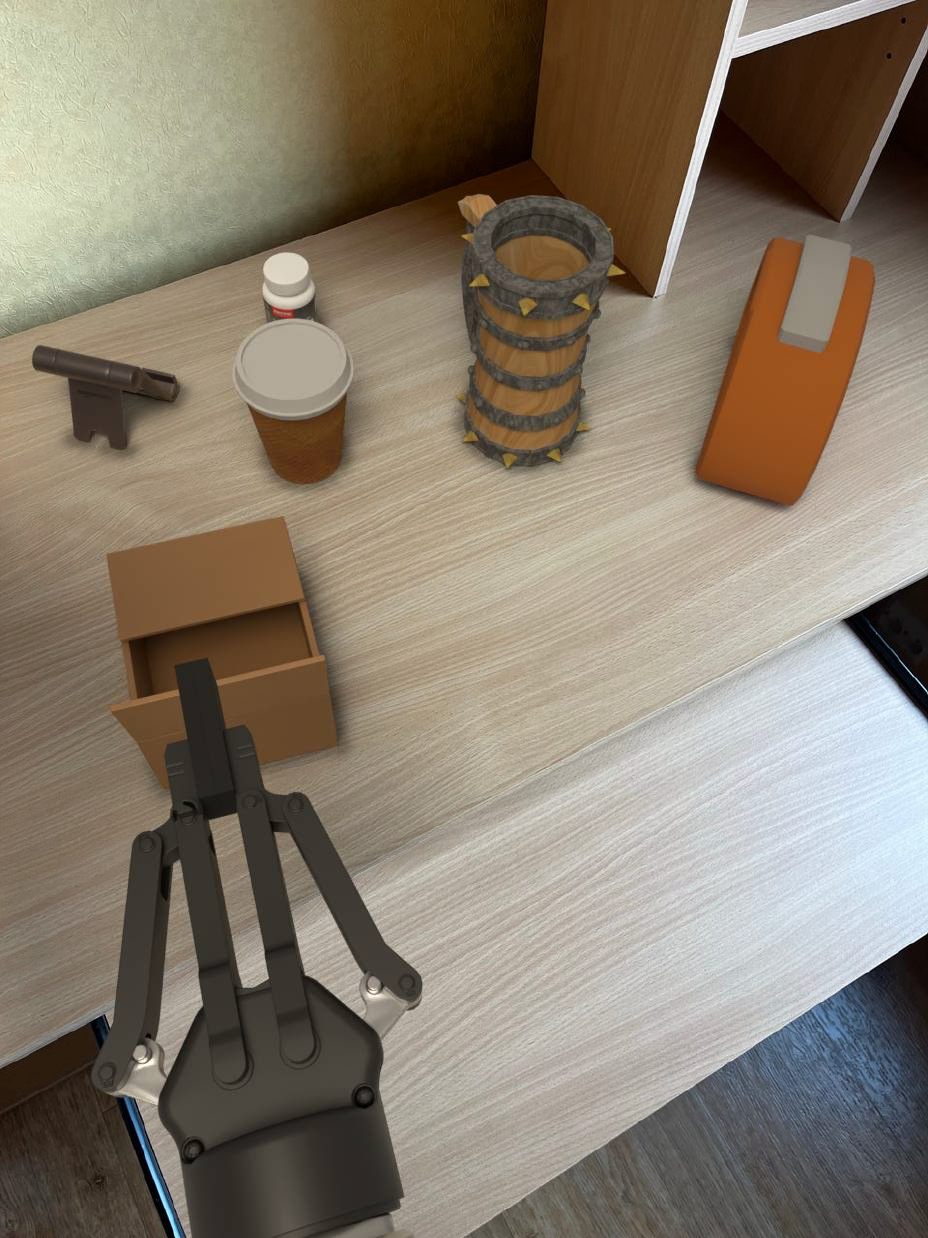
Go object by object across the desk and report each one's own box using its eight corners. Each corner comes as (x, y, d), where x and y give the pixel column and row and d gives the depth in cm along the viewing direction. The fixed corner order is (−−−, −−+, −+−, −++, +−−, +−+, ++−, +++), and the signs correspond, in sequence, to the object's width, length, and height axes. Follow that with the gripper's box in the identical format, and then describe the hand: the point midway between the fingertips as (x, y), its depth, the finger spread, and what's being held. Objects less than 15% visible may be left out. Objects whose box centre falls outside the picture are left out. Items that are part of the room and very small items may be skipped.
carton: (296, 581, 86) (283, 514, 78) (338, 745, 79) (329, 690, 71) (135, 617, 84) (105, 552, 76) (163, 789, 77) (133, 738, 69)
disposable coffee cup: (292, 517, 89) (275, 424, 79) (229, 447, 93) (205, 349, 82) (382, 463, 93) (377, 366, 82) (318, 397, 96) (306, 296, 86)
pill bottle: (275, 360, 98) (263, 291, 91) (265, 324, 100) (253, 254, 93) (325, 351, 99) (317, 281, 92) (314, 315, 101) (306, 245, 94)
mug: (498, 499, 91) (517, 328, 74) (400, 369, 98) (396, 185, 81) (620, 441, 95) (665, 265, 78) (516, 320, 102) (536, 134, 85)
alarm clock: (741, 315, 103) (793, 167, 89) (832, 340, 102) (900, 193, 88) (686, 497, 92) (735, 360, 78) (787, 527, 91) (857, 394, 76)
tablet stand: (182, 390, 96) (162, 322, 89) (148, 456, 92) (125, 390, 85) (91, 370, 97) (64, 300, 90) (53, 434, 93) (22, 367, 86)
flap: (323, 654, 65) (325, 660, 64) (328, 688, 71) (329, 694, 71) (109, 705, 62) (110, 711, 62) (134, 736, 69) (135, 741, 69)
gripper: (144, 1305, 40) (73, 742, 51) (477, 1193, 42) (340, 678, 53) (90, 1320, 33) (23, 671, 44) (488, 1186, 35) (329, 601, 46)
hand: (196, 675), depth 48 cm, fingers closed
